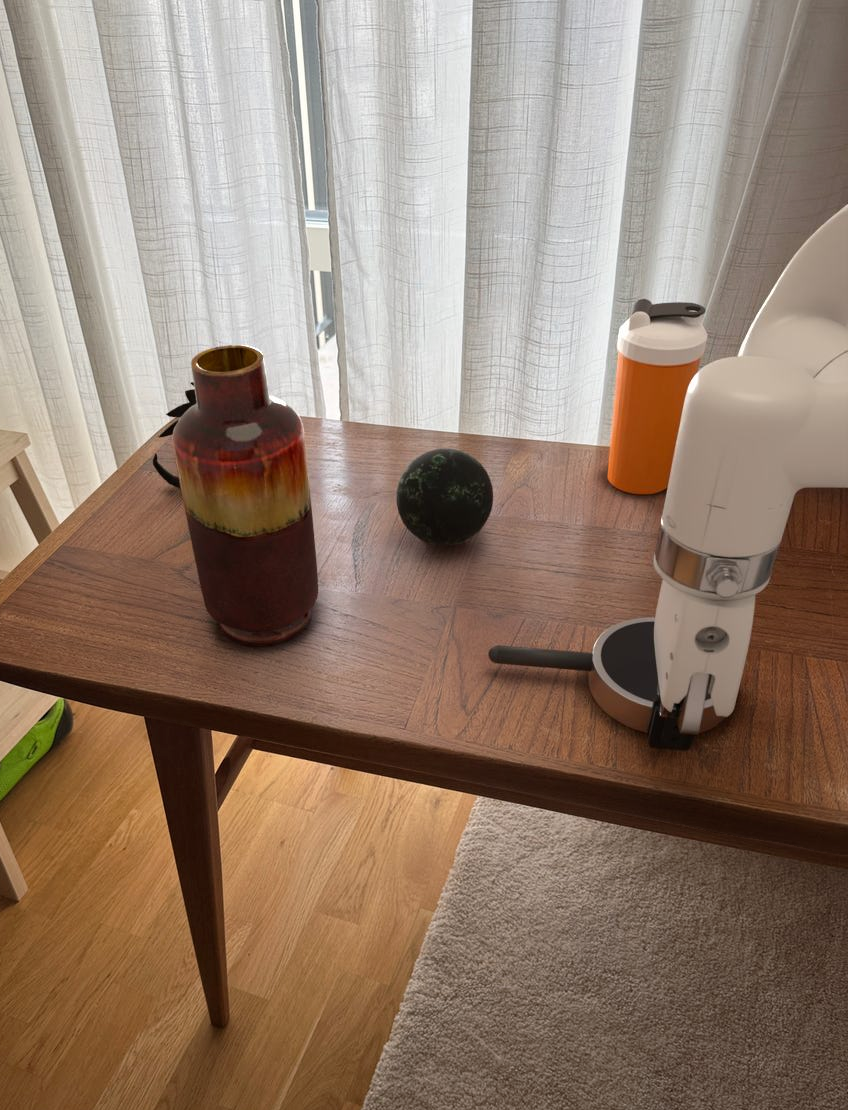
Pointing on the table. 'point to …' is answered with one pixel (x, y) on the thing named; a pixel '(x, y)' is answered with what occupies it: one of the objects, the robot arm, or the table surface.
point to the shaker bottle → (652, 391)
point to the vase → (247, 499)
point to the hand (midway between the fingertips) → (667, 741)
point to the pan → (611, 671)
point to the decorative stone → (444, 497)
